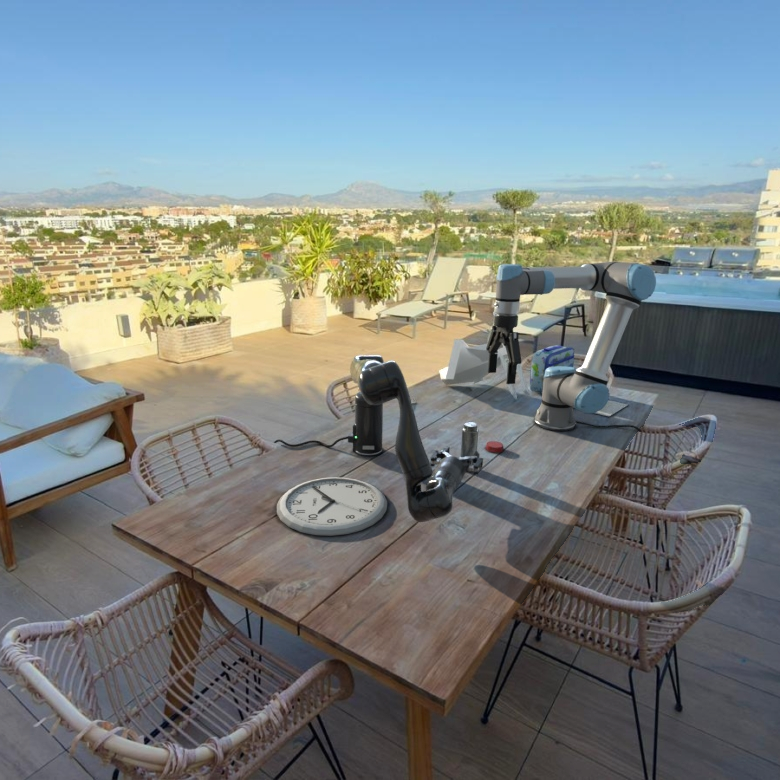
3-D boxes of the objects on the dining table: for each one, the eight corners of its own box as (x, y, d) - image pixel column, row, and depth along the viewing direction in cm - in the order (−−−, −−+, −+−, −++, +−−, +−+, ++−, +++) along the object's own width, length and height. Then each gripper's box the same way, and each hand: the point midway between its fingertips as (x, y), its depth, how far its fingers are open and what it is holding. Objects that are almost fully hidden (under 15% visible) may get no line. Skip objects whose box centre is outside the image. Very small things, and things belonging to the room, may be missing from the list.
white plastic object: (461, 429, 252) (437, 405, 227) (444, 352, 274) (420, 323, 250) (535, 404, 240) (518, 377, 215) (510, 326, 262) (492, 293, 237)
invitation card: (608, 416, 214) (573, 407, 224) (608, 416, 214) (573, 408, 224) (628, 404, 229) (594, 396, 238) (628, 405, 229) (594, 397, 238)
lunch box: (546, 398, 236) (551, 353, 229) (525, 393, 243) (529, 349, 237) (573, 387, 253) (579, 344, 247) (553, 382, 260) (558, 341, 254)
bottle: (456, 468, 166) (459, 424, 162) (466, 463, 170) (469, 420, 165) (469, 473, 163) (472, 428, 158) (478, 468, 166) (482, 424, 162)
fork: (400, 411, 216) (400, 406, 215) (412, 399, 230) (412, 395, 230) (406, 412, 215) (406, 407, 215) (418, 400, 230) (418, 396, 229)
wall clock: (392, 527, 129) (268, 531, 127) (391, 533, 130) (269, 537, 127) (383, 473, 158) (282, 475, 155) (383, 478, 158) (282, 480, 156)
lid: (483, 450, 180) (483, 444, 180) (490, 444, 185) (490, 439, 184) (498, 454, 177) (499, 449, 176) (505, 448, 182) (505, 443, 181)
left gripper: (475, 467, 136) (487, 444, 151) (423, 458, 141) (439, 436, 156) (473, 492, 139) (485, 467, 153) (422, 482, 144) (438, 459, 158)
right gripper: (479, 308, 177) (475, 368, 184) (514, 321, 155) (508, 389, 161) (499, 308, 179) (494, 367, 186) (537, 320, 156) (530, 388, 163)
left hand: (462, 451), depth 154 cm, fingers open, 8 cm apart
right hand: (501, 378), depth 173 cm, fingers open, 13 cm apart
